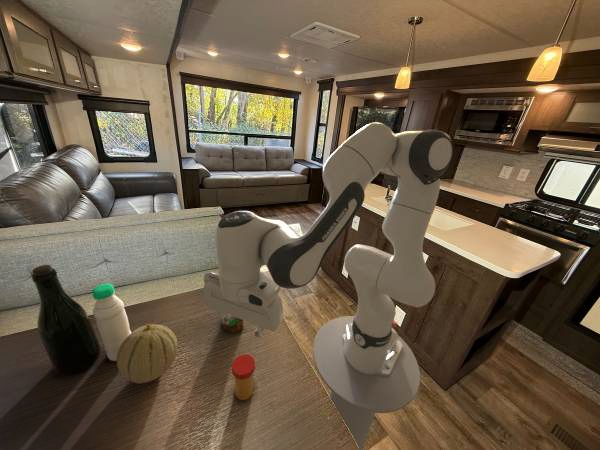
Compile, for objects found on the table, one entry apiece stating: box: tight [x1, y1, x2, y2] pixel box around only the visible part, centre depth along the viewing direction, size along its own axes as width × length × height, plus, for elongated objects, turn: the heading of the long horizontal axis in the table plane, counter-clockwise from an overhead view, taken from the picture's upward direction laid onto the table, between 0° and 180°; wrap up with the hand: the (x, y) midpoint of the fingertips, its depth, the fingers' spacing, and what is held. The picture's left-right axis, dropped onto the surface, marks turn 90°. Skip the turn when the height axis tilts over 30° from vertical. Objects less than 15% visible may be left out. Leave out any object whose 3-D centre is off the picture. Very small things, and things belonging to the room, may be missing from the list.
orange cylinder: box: [234, 373, 254, 401], centre depth 67 cm, size 5×5×11 cm
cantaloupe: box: [116, 323, 179, 384], centre depth 70 cm, size 15×15×15 cm
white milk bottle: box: [91, 283, 132, 362], centre depth 72 cm, size 7×7×25 cm
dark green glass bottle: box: [31, 264, 102, 377], centre depth 67 cm, size 10×10×33 cm
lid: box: [231, 353, 256, 380], centre depth 65 cm, size 6×6×2 cm
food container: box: [220, 316, 244, 333], centre depth 88 cm, size 12×6×10 cm, turn 42°
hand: (242, 328), depth 61 cm, fingers open, 8 cm apart
